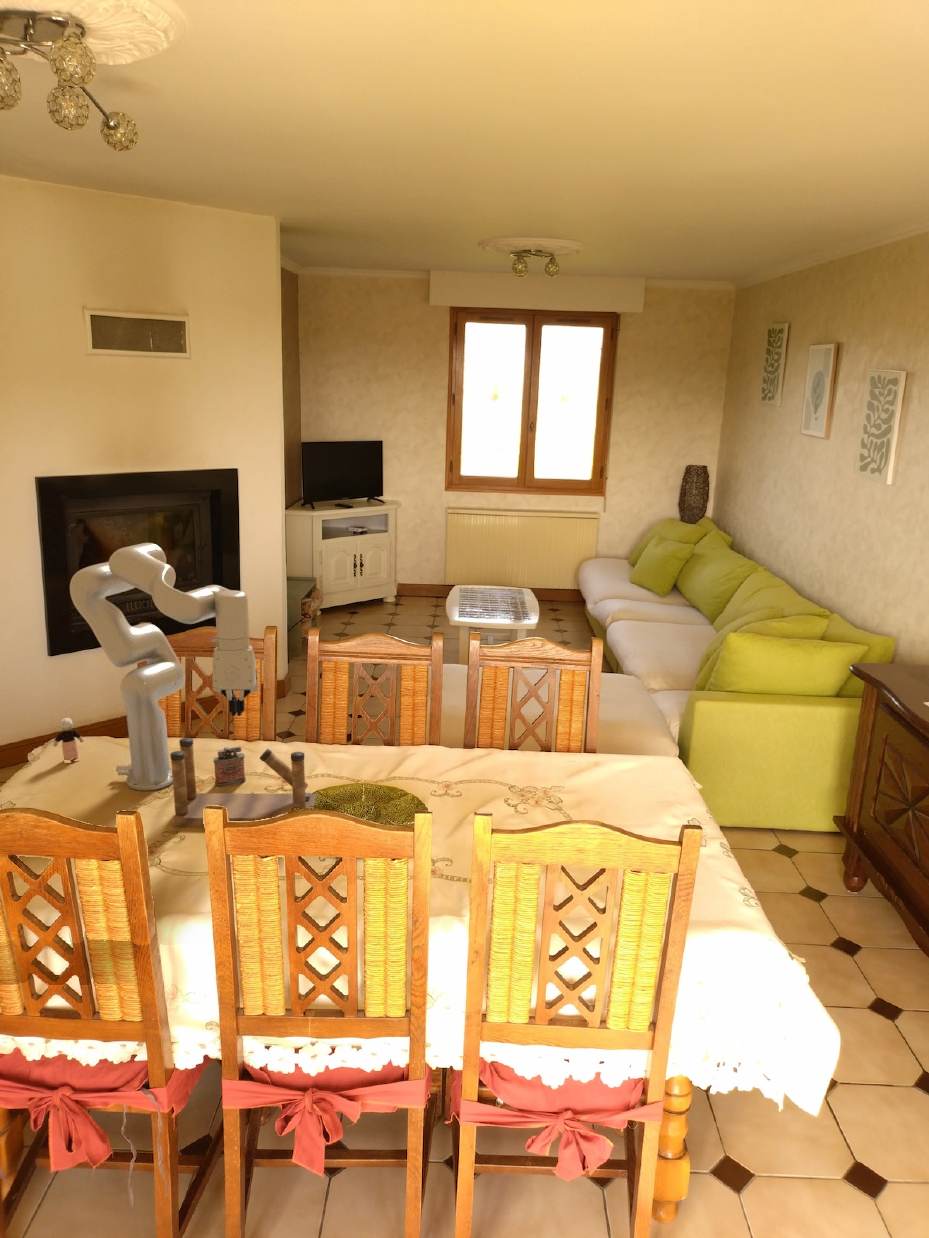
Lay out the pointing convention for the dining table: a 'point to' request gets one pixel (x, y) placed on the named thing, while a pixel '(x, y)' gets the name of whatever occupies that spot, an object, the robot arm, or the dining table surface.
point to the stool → (236, 803)
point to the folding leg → (278, 766)
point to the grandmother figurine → (68, 740)
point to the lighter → (229, 767)
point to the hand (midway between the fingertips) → (237, 713)
